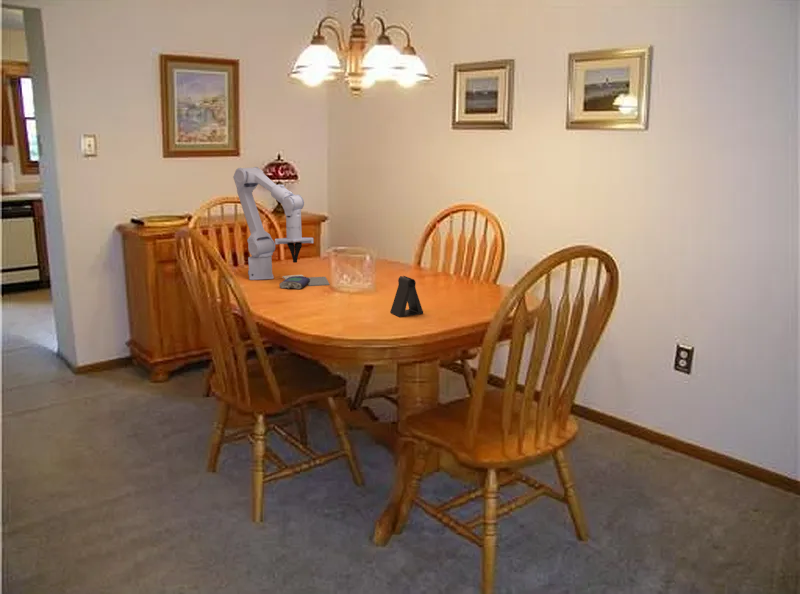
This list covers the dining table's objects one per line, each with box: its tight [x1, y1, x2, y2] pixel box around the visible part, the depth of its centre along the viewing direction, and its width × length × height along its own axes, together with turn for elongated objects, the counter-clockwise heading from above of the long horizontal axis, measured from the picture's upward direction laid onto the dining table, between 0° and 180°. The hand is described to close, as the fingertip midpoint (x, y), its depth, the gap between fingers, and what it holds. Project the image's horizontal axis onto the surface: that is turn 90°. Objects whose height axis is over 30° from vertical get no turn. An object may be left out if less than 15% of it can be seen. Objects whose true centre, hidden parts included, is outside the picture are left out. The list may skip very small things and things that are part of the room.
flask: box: [279, 275, 310, 290], centre depth 260 cm, size 9×3×11 cm
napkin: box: [282, 274, 304, 280], centre depth 276 cm, size 8×6×1 cm
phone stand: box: [390, 275, 424, 318], centre depth 222 cm, size 9×6×12 cm, turn 120°
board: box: [306, 276, 331, 287], centre depth 269 cm, size 8×14×1 cm, turn 13°
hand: (295, 262), depth 265 cm, fingers closed
